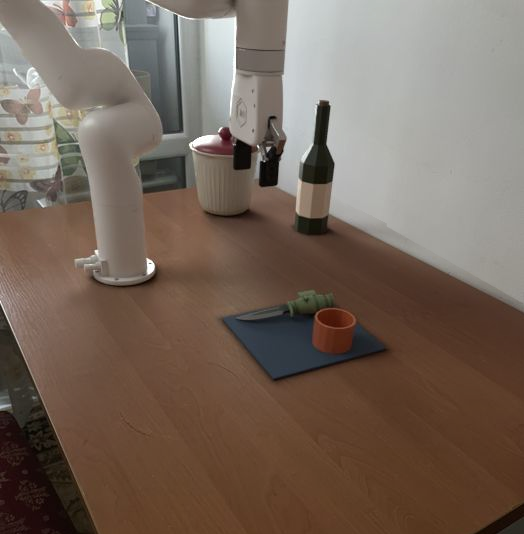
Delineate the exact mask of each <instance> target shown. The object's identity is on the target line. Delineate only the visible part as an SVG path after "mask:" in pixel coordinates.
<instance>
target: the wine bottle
mask: <svg viewBox="0 0 524 534" xmlns="http://www.w3.org/2000/svg"><path fill="white" fill-rule="evenodd" d="M314 107H315V109H314V117H313V131H312V137H311V138H312V140H311V144H309V146H308V147H307V149H306V150H305V152H304V153H303V155H302V156H301V158H300V159H299V167H298V169H299V170H298V178H297V179H298V180H297V189H296V191H297V192H296V202H295V212H294V213H295V214H294V225H293V226H294V229H295V230H296V232H298V233H301V234H305V235H321V234H324V233H325V232H326V231H327V230H328V222H329V216H330V215H329V214H330V205H331V199H332V190H333V182H334V173H335V165H336V163H335V161H334V159H333V157H332V154H331V151H330V149H329V146H328V144H327V143H328V135H329V134H328V133H329V125H330V117H331V116H330V115H331V108H332V106H331V105H330V101H329V100H326V99H319V100H317V103H316V104H315V106H314Z"/></svg>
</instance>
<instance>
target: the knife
mask: <svg viewBox="0 0 524 534" xmlns="http://www.w3.org/2000/svg"><path fill="white" fill-rule="evenodd" d="M297 296H298V298H297V299H295V300H291V301H289V300H287V301H286V304H287V306H280V305H278V306H279V307H277V308H273V309H268V310H267V309H266V308H265V309H266V310H264V311H259V312H255V313H252V314H248V315H244V316H240V317H236V318H235V319H238V320H260V319H265V318H270V317H275V316H280V315H283V314H286V313H288V314H289V316H290V317H294V315H295V314H298V315H304V314H305V315H306V317H309V316H308V314H313V313H316V312H317V311H320V310H322V309H326V308H334V305H335V299H334V295H333V293H328V294H325V295H324V294H317V293H316V290H314V289H310V290H304V291H300V292H299V291H298V292H297Z"/></svg>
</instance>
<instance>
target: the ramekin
mask: <svg viewBox="0 0 524 534" xmlns="http://www.w3.org/2000/svg"><path fill="white" fill-rule="evenodd" d="M337 308H338V307H337ZM337 308H326V309H322V310H320V311H318V312H317V313H316V315H315V318H314V327H313V335H312V343H313V345H314V347H315V348H317V349H318V350H320V351H322V352H325V353H329V354H342V353H345V352H347V351H349V350H350V349H351V346H352V342H353V337H354V331H355V325H356V323H357V319H356V316H355V315H354V314H353V313H351V312H350V311H348V310H345V309H342V308H339V309H337Z"/></svg>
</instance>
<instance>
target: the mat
mask: <svg viewBox="0 0 524 534" xmlns="http://www.w3.org/2000/svg"><path fill="white" fill-rule="evenodd" d="M279 306H287V303H286V304H281V305H277V306H270V307H267V308H261V309H258V310H257V309H256V310H252V311H247V312H243V313H239V314H233V315H228V316H224V317H221V320H222V322H223V323H224V324H225V325H226V327H228V329H229V330H230V331H231V332H232V333H233V334H234V336H235V337H236V338H237V339H238V341H240V343H241V344H242V345H243V347H244V348H245V349H246V350H247V351H248V352H249V353H250V354H251V356H252V357H253V358H254V359H255V360H256V362H257V363H258V364H259V365H260V366H261V367H262V369H263V370H264V371H265V372H266V373H267V374H268V376H269V377H270V378H271V379H272V380H273V381H276V380H280V379H283V378H288V377H292V376H295V375H298V374H302V373H306V372H309V371H313V370H317V369H320V368H324V367H329V366H332V365H335V364H339V363H342V362H346V361H350V360H353V359H357V358H361V357H364V356H369V355H373V354H375V353H380V352H383V351H386V350H387V347H386V346H385V345H384V344H382V343H381V342H380V340H378V339H376V338H375V337H374V336H373V335H371V333H369V332H368V331H367V330H366V329H364V328H363V327H362V326H361V325H359V324H358V323H357V322H356V325H355V331H354V337H353V342H352V346H351V349H350V350H349V351H347V352H345V353H342V354H329V353H325V352H322V351H320V350H318V349H317V348H315V347H314V345H313V343H312V335H313V327H314V318H315V315H316V313H317V312H318V311H317V312H316V313H313V314H308V316H309V317H306V315H305V314H304V315H298V314H295V315H294V317H290V316H289V314H288V313H286V314H283V315H280V316H275V317H270V318H265V319H260V320H238V319H235V318H236V317H240V316H244V315H248V314H252V313H255V312H259V311H264V310H266V309H267V310H268V309H273V308H277V307H279ZM334 308H337V309H340V308H339V307H338V306H336V305H335V304H334Z"/></svg>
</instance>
